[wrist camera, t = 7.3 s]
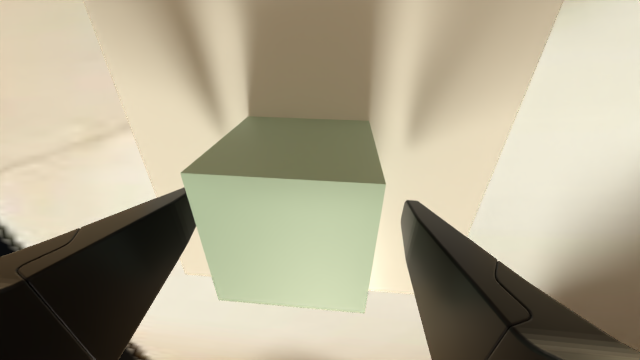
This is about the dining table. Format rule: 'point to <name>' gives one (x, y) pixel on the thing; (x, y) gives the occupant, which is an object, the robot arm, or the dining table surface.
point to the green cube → (290, 211)
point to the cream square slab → (331, 89)
